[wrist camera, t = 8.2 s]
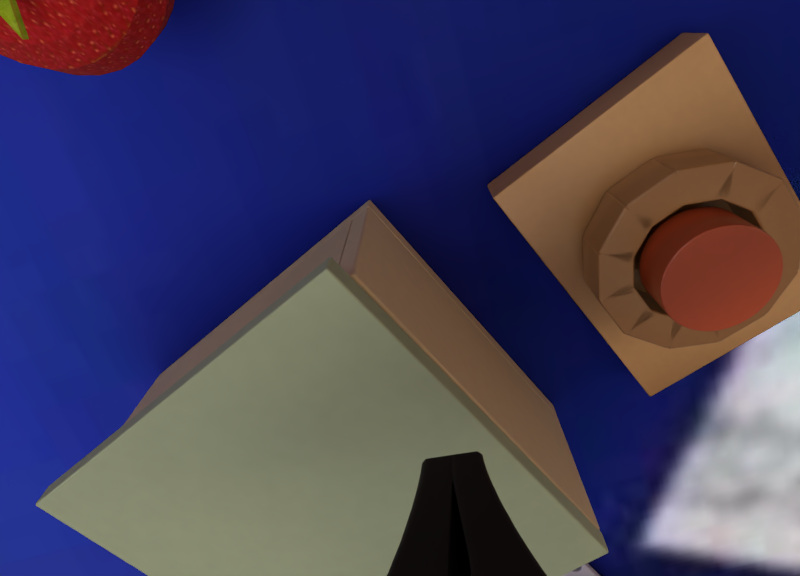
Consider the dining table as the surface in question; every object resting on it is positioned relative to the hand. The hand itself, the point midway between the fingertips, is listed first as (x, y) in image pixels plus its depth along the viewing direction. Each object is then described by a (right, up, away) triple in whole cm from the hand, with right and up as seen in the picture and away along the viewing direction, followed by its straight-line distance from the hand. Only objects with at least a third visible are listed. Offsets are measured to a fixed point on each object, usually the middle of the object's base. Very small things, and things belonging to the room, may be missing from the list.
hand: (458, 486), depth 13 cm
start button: (+8, +6, +5) cm, 11 cm away
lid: (-4, -3, +5) cm, 7 cm away
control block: (+8, +7, +8) cm, 14 cm away
